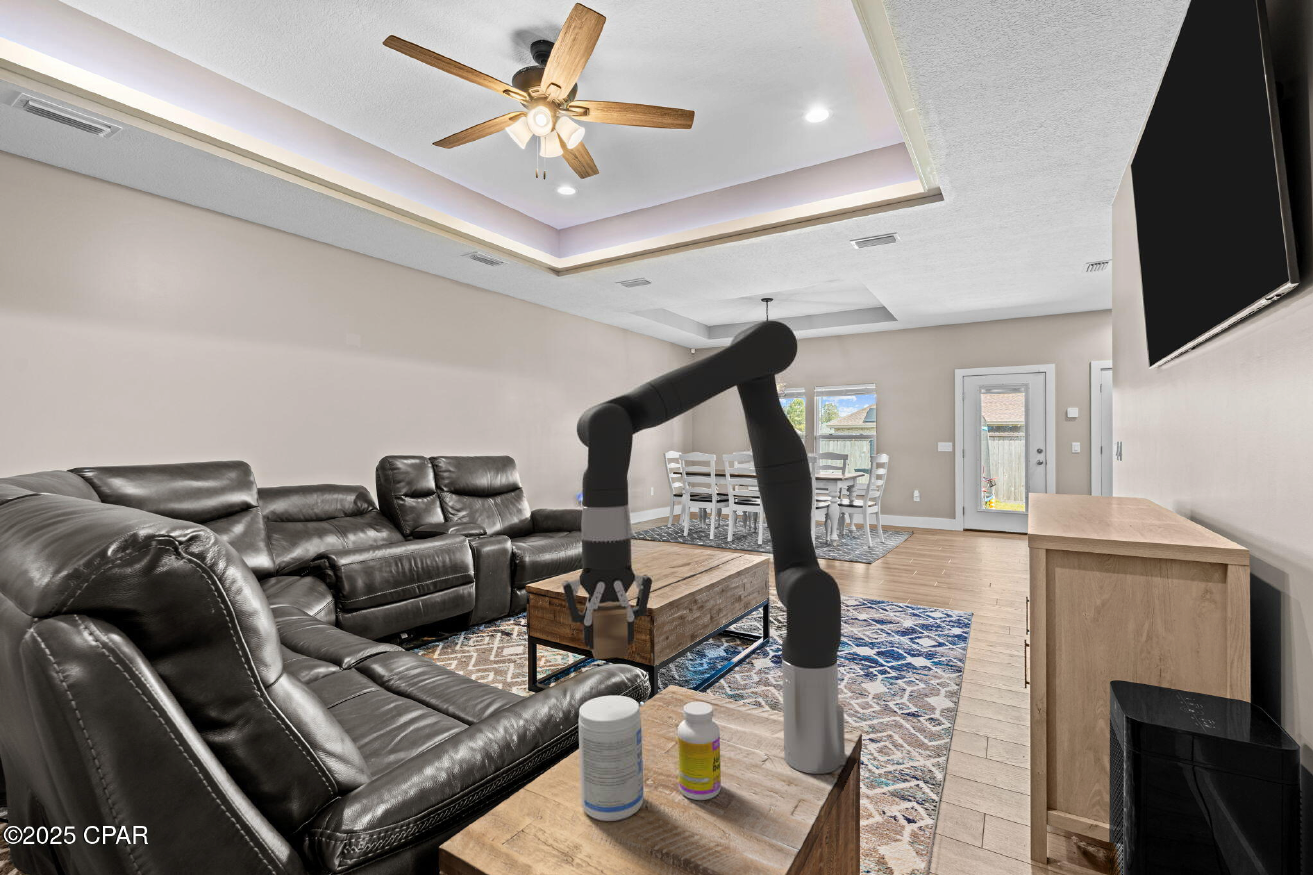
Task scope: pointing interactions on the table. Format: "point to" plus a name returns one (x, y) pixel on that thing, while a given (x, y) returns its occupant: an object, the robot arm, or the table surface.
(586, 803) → the supplement tub
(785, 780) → the table surface
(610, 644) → the walnut block
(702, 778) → the supplement bottle
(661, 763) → the table surface
